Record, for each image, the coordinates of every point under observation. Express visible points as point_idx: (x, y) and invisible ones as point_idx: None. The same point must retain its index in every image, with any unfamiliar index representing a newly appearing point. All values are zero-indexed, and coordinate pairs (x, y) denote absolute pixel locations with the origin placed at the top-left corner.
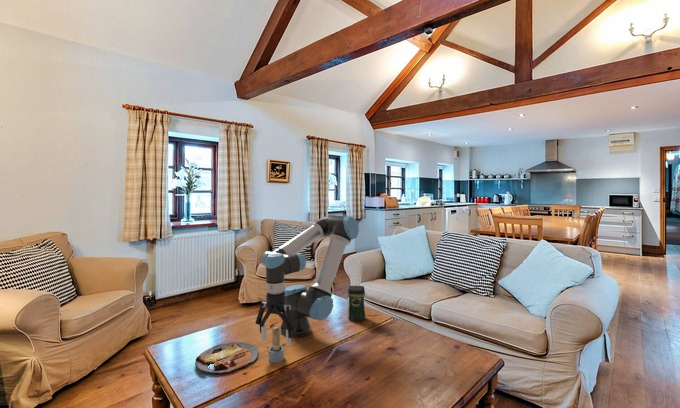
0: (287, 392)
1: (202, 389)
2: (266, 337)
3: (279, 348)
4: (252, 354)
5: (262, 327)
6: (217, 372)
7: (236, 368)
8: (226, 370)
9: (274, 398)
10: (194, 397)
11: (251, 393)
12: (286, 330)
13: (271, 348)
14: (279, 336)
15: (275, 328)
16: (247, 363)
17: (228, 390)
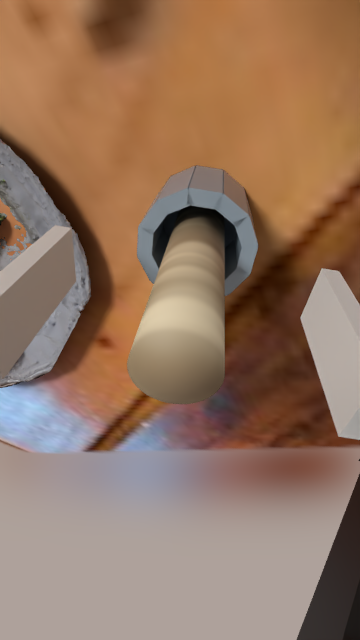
0: (323, 416)
1: (33, 418)
2: (64, 235)
3: (224, 254)
4: (25, 206)
5: (1, 374)
6: (11, 384)
7: (58, 356)
8: (23, 354)
9: (282, 437)
10: (44, 440)
11: (195, 424)
12: (345, 430)
13: (153, 241)
14: (224, 307)
15: (172, 377)
16: (77, 319)
17: (113, 417)
